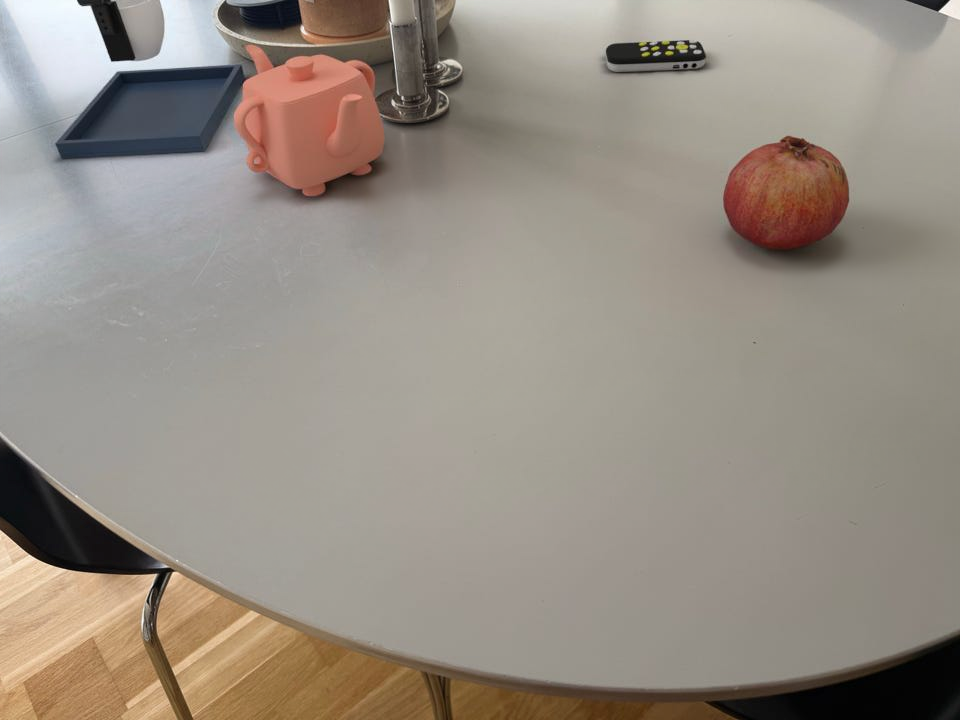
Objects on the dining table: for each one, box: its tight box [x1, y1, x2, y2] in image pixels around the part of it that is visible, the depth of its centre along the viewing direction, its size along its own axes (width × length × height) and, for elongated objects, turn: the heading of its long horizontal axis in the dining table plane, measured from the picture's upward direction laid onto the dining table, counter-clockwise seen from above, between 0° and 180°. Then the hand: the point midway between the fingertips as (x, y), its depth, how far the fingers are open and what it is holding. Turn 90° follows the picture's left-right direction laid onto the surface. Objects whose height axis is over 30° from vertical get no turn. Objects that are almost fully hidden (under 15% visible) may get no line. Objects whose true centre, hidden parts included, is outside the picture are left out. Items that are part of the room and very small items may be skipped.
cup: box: [89, 0, 166, 62], centre depth 99 cm, size 8×10×7 cm
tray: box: [54, 63, 246, 160], centre depth 106 cm, size 22×18×2 cm
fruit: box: [722, 135, 850, 250], centre depth 73 cm, size 11×10×10 cm
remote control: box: [605, 39, 707, 73], centre depth 108 cm, size 6×13×2 cm, turn 88°
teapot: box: [233, 44, 385, 197], centre depth 88 cm, size 15×17×13 cm
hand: (136, 44), depth 100 cm, fingers closed on cup, 9 cm apart
